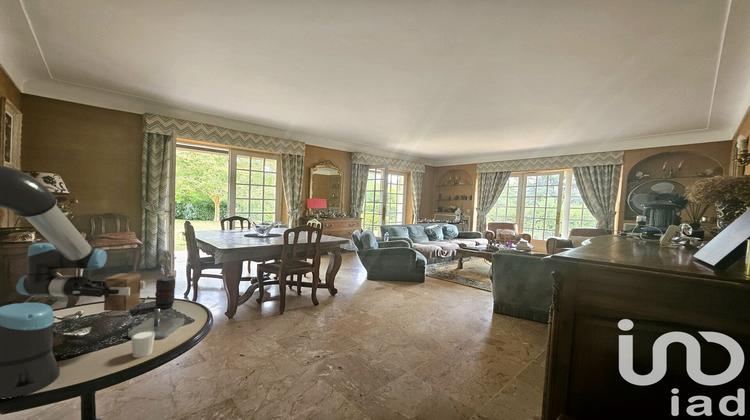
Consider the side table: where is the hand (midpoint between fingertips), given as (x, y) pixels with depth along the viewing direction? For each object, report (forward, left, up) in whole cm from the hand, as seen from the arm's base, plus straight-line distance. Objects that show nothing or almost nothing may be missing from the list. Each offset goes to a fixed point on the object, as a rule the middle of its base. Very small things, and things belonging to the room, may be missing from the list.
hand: (136, 288), depth 113 cm
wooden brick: (-5, 0, -7) cm, 9 cm away
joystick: (+1, +13, -22) cm, 26 cm away
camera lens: (-11, +39, -22) cm, 46 cm away
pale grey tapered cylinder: (+7, -6, -22) cm, 24 cm away
